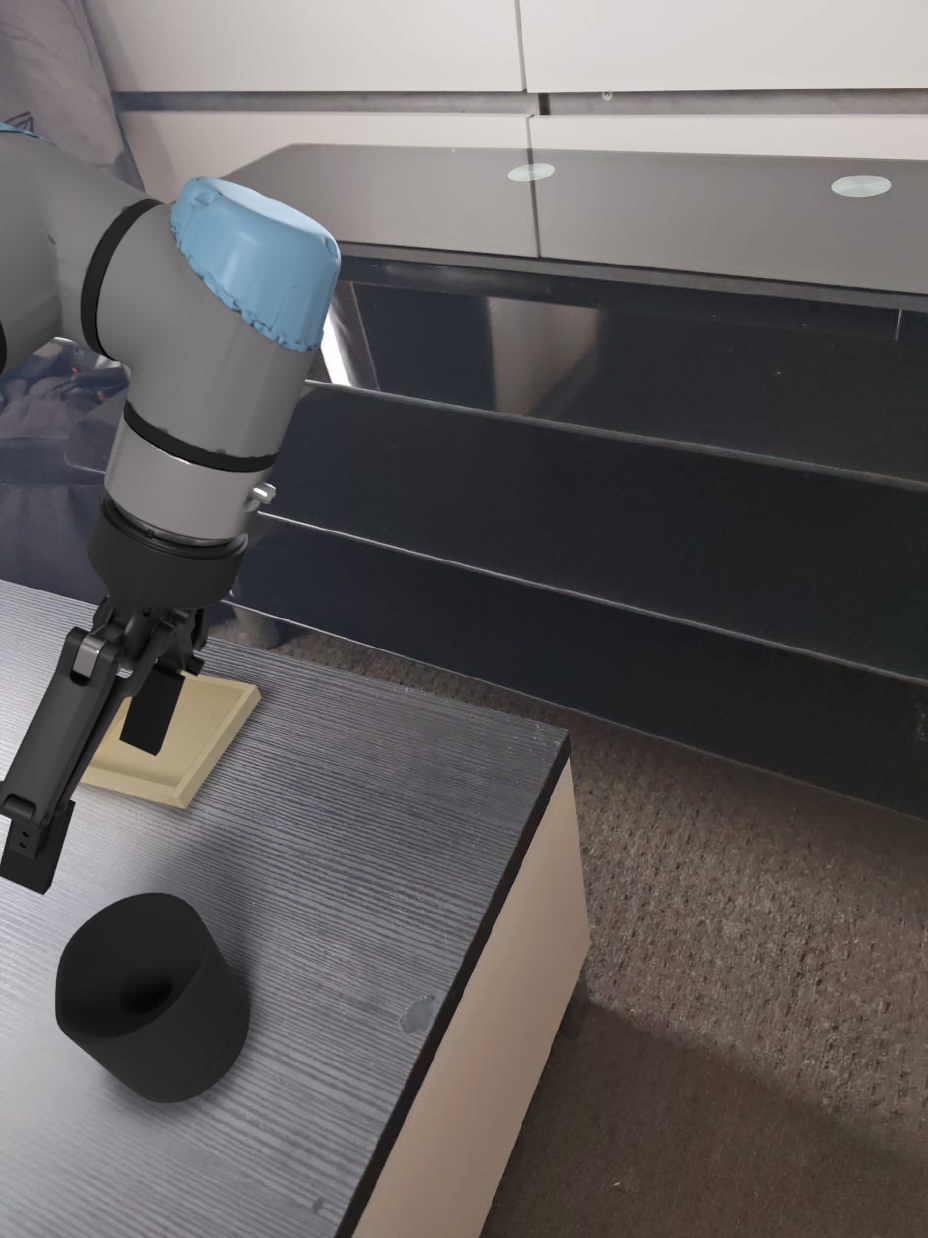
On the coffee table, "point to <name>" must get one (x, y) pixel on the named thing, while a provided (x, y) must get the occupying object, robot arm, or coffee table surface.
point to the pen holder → (152, 997)
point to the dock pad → (175, 743)
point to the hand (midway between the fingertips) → (88, 806)
